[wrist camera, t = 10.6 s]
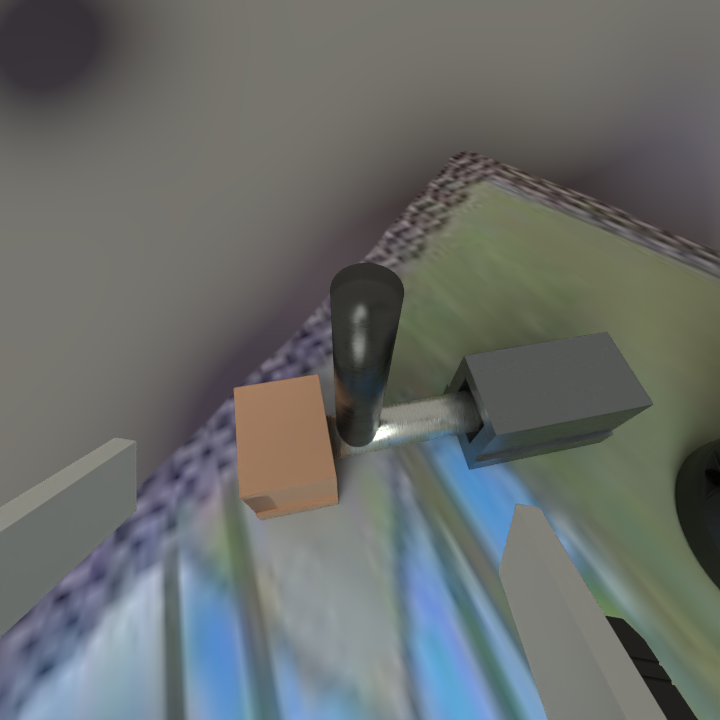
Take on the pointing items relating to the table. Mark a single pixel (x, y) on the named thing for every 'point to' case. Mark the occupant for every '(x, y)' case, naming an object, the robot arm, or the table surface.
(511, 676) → the table surface
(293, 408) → the tan box
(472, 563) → the table surface
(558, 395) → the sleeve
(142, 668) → the table surface
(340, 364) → the l-shaped tool
